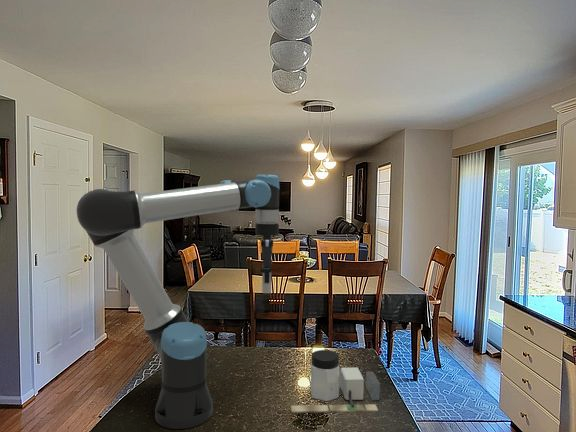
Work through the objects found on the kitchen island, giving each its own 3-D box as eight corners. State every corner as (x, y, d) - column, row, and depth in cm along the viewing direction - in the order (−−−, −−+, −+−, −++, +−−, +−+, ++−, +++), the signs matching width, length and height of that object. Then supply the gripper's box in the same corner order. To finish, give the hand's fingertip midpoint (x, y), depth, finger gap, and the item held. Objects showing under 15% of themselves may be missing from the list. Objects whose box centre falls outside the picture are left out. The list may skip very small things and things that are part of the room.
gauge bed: (291, 412, 114) (291, 411, 114) (290, 407, 117) (290, 405, 117) (378, 411, 116) (378, 409, 116) (375, 405, 119) (375, 404, 119)
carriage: (347, 408, 117) (348, 387, 116) (339, 386, 129) (340, 367, 129) (367, 407, 117) (367, 386, 116) (357, 386, 129) (357, 367, 129)
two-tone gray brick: (372, 400, 122) (373, 383, 121) (366, 387, 130) (366, 371, 129) (379, 400, 122) (379, 383, 121) (372, 387, 130) (372, 371, 129)
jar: (321, 404, 119) (321, 363, 118) (304, 392, 126) (305, 353, 125) (345, 396, 124) (345, 356, 123) (327, 385, 131) (328, 347, 130)
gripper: (280, 226, 123) (279, 297, 124) (277, 219, 148) (277, 279, 149) (254, 226, 122) (254, 297, 124) (256, 219, 147) (255, 279, 149)
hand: (266, 287), depth 136 cm, fingers open, 13 cm apart
